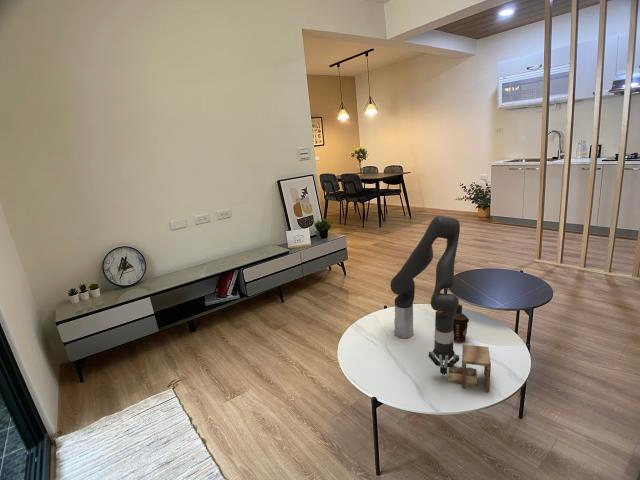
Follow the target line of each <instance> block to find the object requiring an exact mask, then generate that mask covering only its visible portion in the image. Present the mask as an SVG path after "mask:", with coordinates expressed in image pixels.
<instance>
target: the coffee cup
mask: <svg viewBox="0 0 640 480" xmlns="http://www.w3.org/2000/svg"><path fill="white" fill-rule="evenodd" d="M469 322H470V319H469V318H468V316H467V315H466V314H464V313H463V312H462V313H460V314H459V313H456V314H455V316H454V320H453V333H454V343H458V344H463V343H465V342H466V341H467V340H466V339H467V337H466V336H467V334H468V327H469V326H468V325H469V324H468V323H469Z"/></svg>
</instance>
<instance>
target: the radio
mask: <svg viewBox="0 0 640 480" xmlns="http://www.w3.org/2000/svg"><path fill="white" fill-rule="evenodd" d="M446 312H448V311H436V310H435V317H436V316H437V315H438V314H441V313H446ZM456 313H459V314H460V313H462V314H463V305H462V304H458V308H457V310H456ZM456 313H455V314H456Z"/></svg>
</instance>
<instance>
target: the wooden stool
mask: <svg viewBox="0 0 640 480" xmlns="http://www.w3.org/2000/svg"><path fill="white" fill-rule="evenodd" d="M490 356H491V355H490V350H489V346H483V345H481V346H480V345H473V344H463V343H462V355H461V357H462V358H461V359H462V362H461V367H463V384H461V387H462V389H464V390H466V387H467V385H466V368H467V365H471V366H472V365H473V366H479V367H480V366H481V367H484V368H483V375H484V383H485V392H486V393H488V392H490V389H491V371H492V363H491V357H490Z"/></svg>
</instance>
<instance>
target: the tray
mask: <svg viewBox="0 0 640 480" xmlns="http://www.w3.org/2000/svg"><path fill="white" fill-rule="evenodd" d="M447 375H448V376H447V377H448V379H447V381H448V383H451V384H452V383H453V384H454V383H455V384H459V385H463V367H462V366H458V365H456V364H455V365H453V366H452V367H451V368H450V367H448V370H447ZM477 384H478V373H477V368H473V367H466V386H472V387H477V386H478V385H477Z"/></svg>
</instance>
